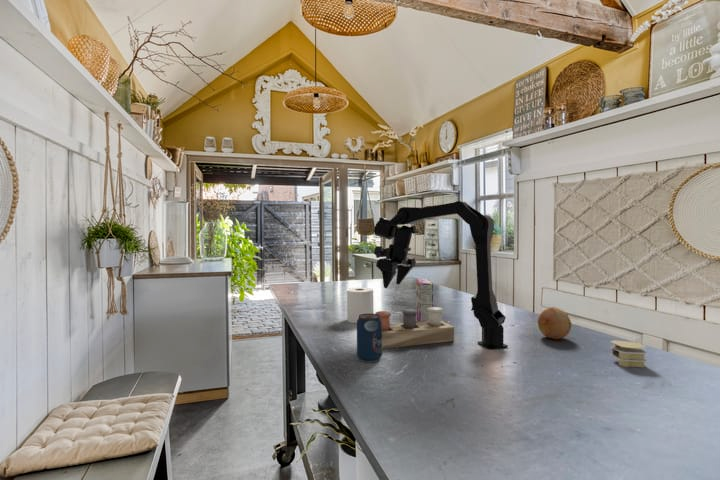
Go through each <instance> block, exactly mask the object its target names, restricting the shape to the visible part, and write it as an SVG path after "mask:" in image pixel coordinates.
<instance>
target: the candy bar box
mask: <svg viewBox="0 0 720 480" xmlns="http://www.w3.org/2000/svg"><path fill="white" fill-rule="evenodd" d="M433 291H434V285H433V282H431V280H430V279H429V278H416V279H415V298H416V299H415V303H416V305H415V306H416V309H415V310H417V314H416V321H427V320H429V311H428V308H430V307H434V292H433Z"/></svg>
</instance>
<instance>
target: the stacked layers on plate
mask: <svg viewBox="0 0 720 480" xmlns="http://www.w3.org/2000/svg"><path fill="white" fill-rule="evenodd" d="M610 343H612V345H610V348H611V353H610V356H612V357H614V358H615V359H618V365H619V366H620V367H625V368H629V367H634V368H635V367H637V368H645V362H647V360H646V359H645V355H647V352H646V351H645V350H643V349H647V347H646V346H645V345H643V344H642V343H639V342H634V341H624V340H615V339H613V340H610Z"/></svg>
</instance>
